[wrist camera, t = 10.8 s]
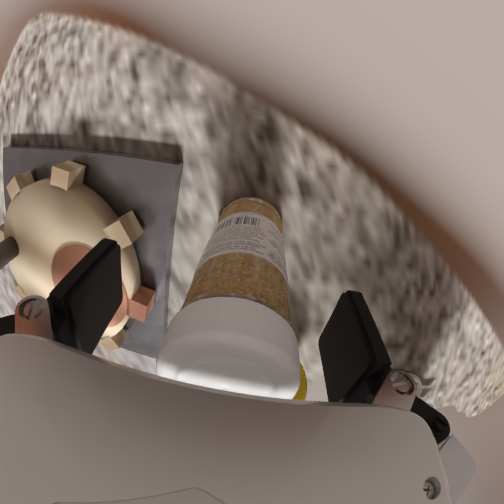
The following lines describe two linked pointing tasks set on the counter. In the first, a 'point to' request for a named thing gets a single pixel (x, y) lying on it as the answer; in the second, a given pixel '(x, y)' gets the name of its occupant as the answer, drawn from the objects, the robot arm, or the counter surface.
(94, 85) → the counter surface
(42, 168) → the dial base
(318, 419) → the robot arm
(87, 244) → the sprocket dial
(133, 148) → the counter surface
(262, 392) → the sprinkles bottle
